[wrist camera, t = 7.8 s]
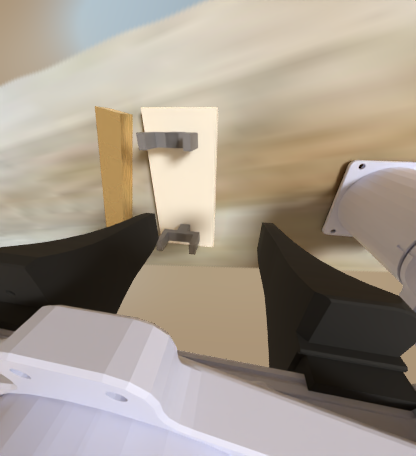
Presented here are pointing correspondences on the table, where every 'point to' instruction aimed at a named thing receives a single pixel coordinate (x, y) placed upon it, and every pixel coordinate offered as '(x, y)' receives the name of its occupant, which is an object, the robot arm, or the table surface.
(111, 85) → the table surface
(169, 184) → the hook stand
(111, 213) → the wooden bar
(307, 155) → the table surface
